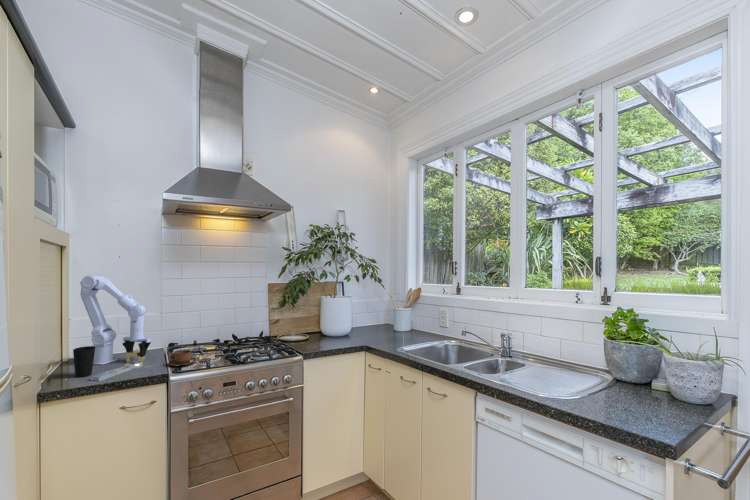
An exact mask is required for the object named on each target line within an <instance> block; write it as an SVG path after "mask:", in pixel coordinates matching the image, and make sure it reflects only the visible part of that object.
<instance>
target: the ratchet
mask: <svg viewBox="0 0 750 500" xmlns="http://www.w3.org/2000/svg"><path fill="white" fill-rule="evenodd" d="M143 363H144V361H139V356H133V357H130V360H129V362H128V363H126V362H125V364H124V365H122V366H121V367H116V368H114V369H112V370H106V371H103V372H99V373H97V374H94V375H90V381H93V380H95V381H96V382H101V381H104V380H107V379H109V378H112V377H115V376H117V375H120V374H123V373H125V372H129V371H131V370H137V369H140V368H143V365H144V364H143ZM95 381H94V382H95Z"/></svg>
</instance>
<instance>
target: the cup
mask: <svg viewBox="0 0 750 500" xmlns="http://www.w3.org/2000/svg"><path fill="white" fill-rule="evenodd" d="M95 348H96V347H94V346H92V345H88V346H80V347H76V348H74V349H72V355H73V364H74V366H73V368H74V377H75V378H78V379H80V378H85V377H86V378H87V377H91V376H92V374H93V367H94V364H93V362H94V355H95Z"/></svg>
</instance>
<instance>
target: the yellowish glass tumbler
mask: <svg viewBox="0 0 750 500" xmlns="http://www.w3.org/2000/svg"><path fill="white" fill-rule="evenodd" d="M146 354H147V353H146ZM146 354H145V356H144V357H140V349H133V351H130V352H126V359H125V360H126V362H125V364H126V363H128V362H129V360H130V357H133V356H139V361H142V362H144V361H146Z"/></svg>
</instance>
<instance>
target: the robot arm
mask: <svg viewBox="0 0 750 500" xmlns="http://www.w3.org/2000/svg"><path fill="white" fill-rule="evenodd" d="M79 285H80V286H81V287H80V298H81V301H82V303H83V306H84V308H85V310H86V313H87V316H88V318H89V319H90V323H91V326H92V327H93V328H92V330H91V332H90V333H91V343H93V344H92V345H91V346H94V347H96V348H95V355H94V362H93V365H101V366H102V365H106V364H109V363H113V362H115V361H118V359H117V358H113V357H114V356H113V355H114V341H115V340H116V338H117V332H116V331H115V330H114V329H113V328H112V325H110V324H108V323H107V321H106V318H105V314H103V311H102V308H101V306H100V303H99V300H98V298H97V296H96V295H97V294H98V293H99V291H100V290H104V291H105V292H107V293H108V294H110V295H111V296H112V297H114V298H115V299H116V300H117V304H118V305H119V306H120V307H121V308H122V309H124V310H125V311H127V314H128V316H129V317H130V318H129V319H130V327H129V328H130V330H129V336H125V337H123V338H122V341H123V342H122V346H123V347H124V349H125V352H126V353H127V352H130V351H134V346H135V343H138V344H137V345H138V348H139V350H140V357H144V356H145V354H147V351H148V348H149V347H150V345H151V340H152V339H151V337H145V314H146V313H147V308H146V306H145V305H144V304H140V303H139V302H137V301H136V300H135V299H133V296H132V295H129V294H124V293H123V292H122V291H121V290H119V289H118V288H117V287H116V286H115V284H113V283H112V282H111V280H110V279H109V278H108V277H107V276H105V275H104V274H96V275H86V276H84V277H83V278H82V279H81V281H80V283H79Z"/></svg>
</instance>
